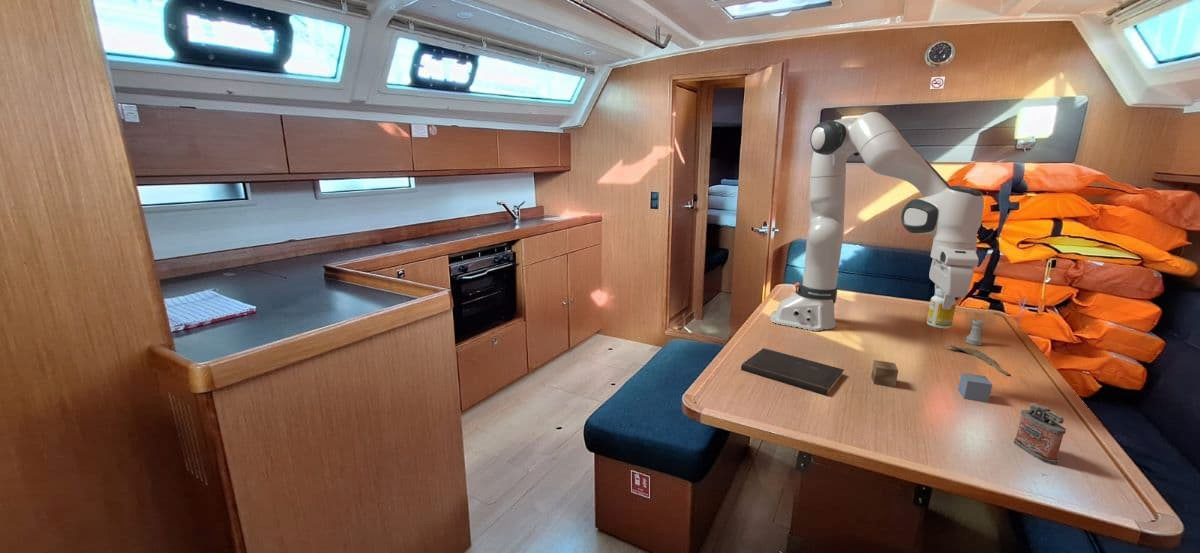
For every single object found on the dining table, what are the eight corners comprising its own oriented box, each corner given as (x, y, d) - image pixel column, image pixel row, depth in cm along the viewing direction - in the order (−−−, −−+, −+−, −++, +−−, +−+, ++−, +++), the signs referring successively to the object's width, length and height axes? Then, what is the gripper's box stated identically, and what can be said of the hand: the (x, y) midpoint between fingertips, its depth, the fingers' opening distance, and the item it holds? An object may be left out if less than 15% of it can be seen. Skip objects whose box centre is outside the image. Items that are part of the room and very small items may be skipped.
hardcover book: (762, 354, 146) (763, 347, 145) (843, 377, 132) (844, 369, 131) (740, 371, 134) (741, 364, 134) (826, 398, 120) (827, 389, 119)
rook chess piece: (975, 341, 157) (980, 318, 155) (985, 346, 153) (990, 322, 151) (961, 340, 158) (966, 317, 156) (970, 345, 153) (975, 322, 151)
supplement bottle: (921, 323, 124) (928, 288, 122) (934, 320, 127) (940, 286, 124) (943, 330, 120) (950, 293, 117) (956, 326, 122) (963, 291, 120)
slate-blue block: (963, 399, 119) (967, 380, 118) (957, 390, 123) (961, 372, 122) (988, 403, 117) (992, 384, 116) (981, 394, 122) (985, 376, 120)
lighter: (1008, 441, 101) (1019, 398, 99) (1023, 440, 101) (1034, 398, 99) (1046, 464, 93) (1058, 419, 91) (1061, 464, 93) (1074, 418, 91)
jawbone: (964, 349, 153) (965, 343, 152) (1032, 378, 134) (1034, 371, 133) (941, 349, 151) (943, 343, 150) (1008, 378, 131) (1010, 371, 131)
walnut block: (873, 384, 126) (876, 367, 125) (871, 376, 131) (873, 360, 130) (895, 387, 124) (898, 370, 123) (891, 380, 129) (894, 363, 128)
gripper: (927, 244, 129) (918, 293, 132) (948, 258, 111) (937, 314, 114) (955, 246, 127) (945, 295, 130) (981, 261, 108) (969, 318, 112)
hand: (942, 304), depth 122 cm, fingers closed on supplement bottle, 5 cm apart
